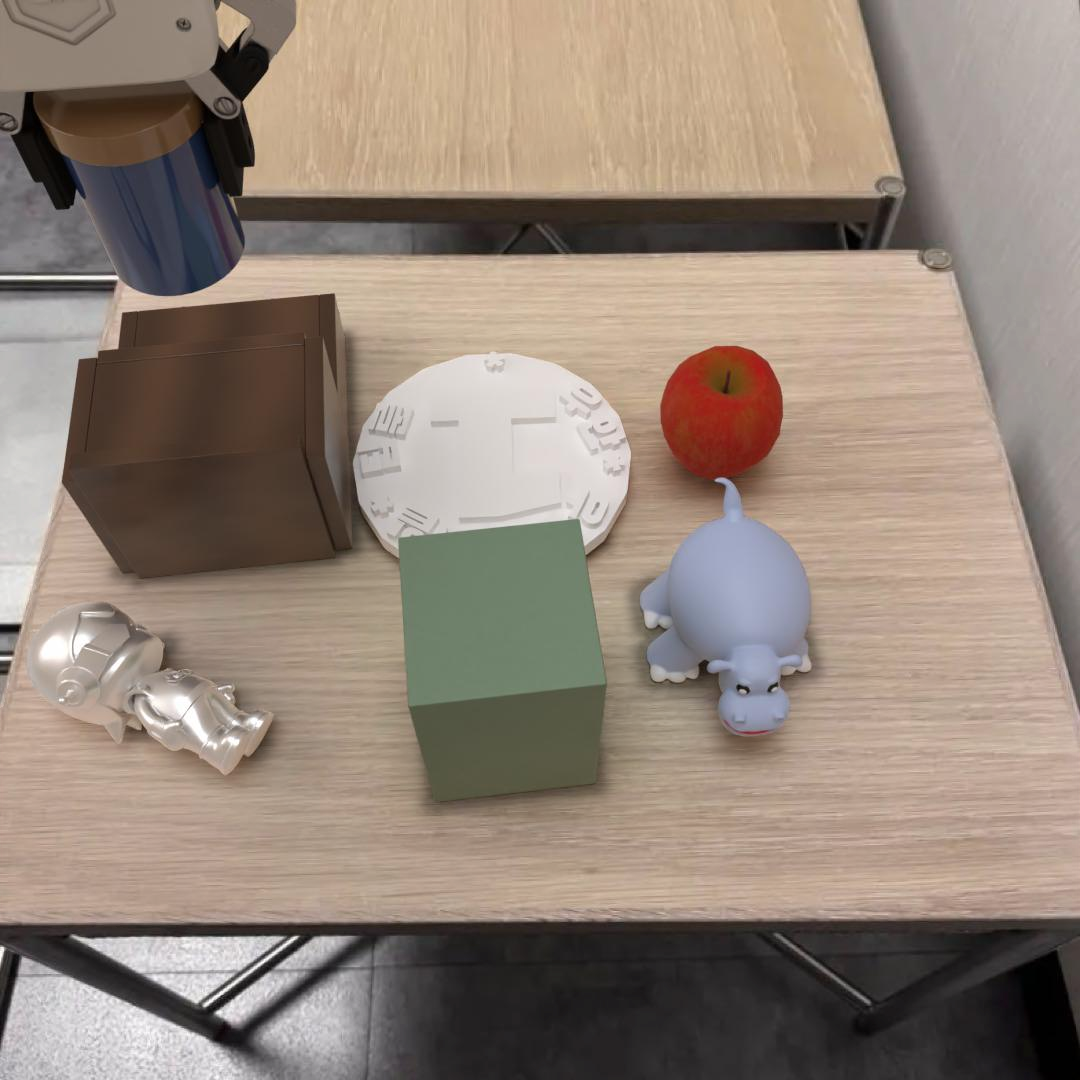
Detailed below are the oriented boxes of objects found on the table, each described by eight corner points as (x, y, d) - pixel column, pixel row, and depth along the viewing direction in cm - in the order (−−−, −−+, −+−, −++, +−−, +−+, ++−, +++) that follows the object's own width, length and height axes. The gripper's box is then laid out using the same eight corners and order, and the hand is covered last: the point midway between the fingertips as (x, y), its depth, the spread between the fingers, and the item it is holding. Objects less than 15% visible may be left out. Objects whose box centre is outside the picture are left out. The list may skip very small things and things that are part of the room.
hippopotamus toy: (660, 763, 67) (676, 703, 59) (632, 558, 75) (643, 480, 67) (830, 751, 67) (869, 690, 59) (785, 548, 75) (814, 470, 67)
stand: (434, 803, 66) (408, 706, 53) (424, 656, 71) (397, 537, 58) (595, 783, 66) (607, 683, 54) (573, 639, 72) (579, 518, 59)
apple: (681, 404, 82) (698, 303, 73) (785, 445, 80) (816, 346, 71) (633, 485, 78) (644, 389, 69) (741, 531, 76) (768, 438, 67)
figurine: (225, 739, 60) (3, 604, 61) (178, 840, 62) (-35, 708, 63) (306, 674, 70) (114, 560, 71) (264, 763, 72) (78, 650, 73)
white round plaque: (658, 407, 82) (662, 382, 80) (586, 626, 72) (588, 605, 70) (414, 348, 85) (410, 322, 83) (314, 550, 75) (306, 528, 73)
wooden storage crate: (121, 580, 74) (47, 471, 63) (142, 356, 85) (82, 230, 74) (352, 556, 75) (319, 444, 64) (345, 337, 86) (315, 210, 75)
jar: (100, 305, 50) (20, 144, 43) (115, 206, 54) (44, 41, 46) (246, 293, 51) (193, 131, 43) (251, 196, 54) (203, 31, 47)
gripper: (-349, -204, 31) (-57, 256, 46) (251, -237, 32) (345, 225, 47) (-274, -314, 35) (-28, 143, 50) (259, -340, 36) (343, 116, 51)
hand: (152, 180), depth 49 cm, fingers closed on jar, 6 cm apart
